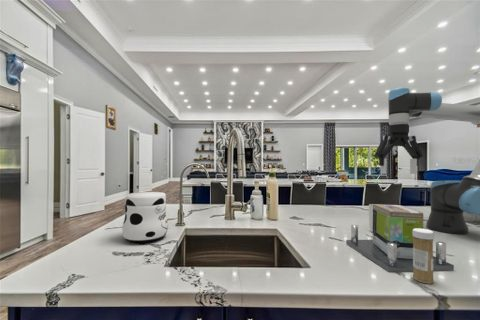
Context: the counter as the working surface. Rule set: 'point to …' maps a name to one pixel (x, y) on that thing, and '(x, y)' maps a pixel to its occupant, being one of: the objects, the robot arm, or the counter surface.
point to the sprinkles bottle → (423, 255)
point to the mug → (371, 218)
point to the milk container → (145, 216)
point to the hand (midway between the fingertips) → (398, 173)
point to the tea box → (395, 228)
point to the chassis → (395, 255)
